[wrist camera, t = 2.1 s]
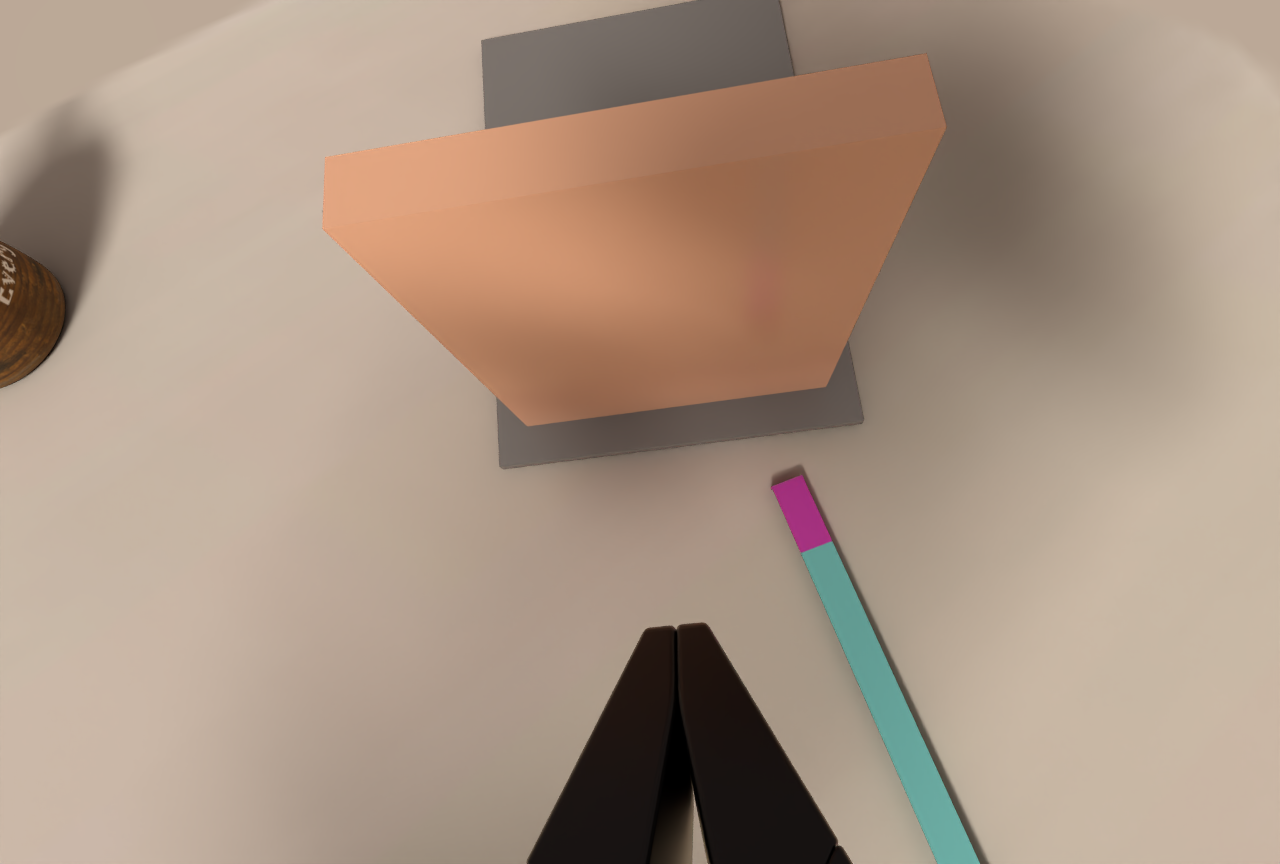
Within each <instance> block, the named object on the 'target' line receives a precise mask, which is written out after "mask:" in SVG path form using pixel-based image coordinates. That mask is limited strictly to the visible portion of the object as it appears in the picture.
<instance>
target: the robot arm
mask: <svg viewBox="0 0 1280 864" xmlns="http://www.w3.org/2000/svg"><path fill="white" fill-rule="evenodd" d="M693 790H694V795H693ZM694 796H695V801H696V806H697V812H698V817H699V822H700V827H701V832H702V837H703V842H704V847H705V852H706V857H707V863H708V864H853V863H852V862H851V860H850V858H849V857H848V855H847V853H846V852H845V850H844V849H843V847H842V846H838V839H837V838H836V836H835V834H834V833H833V831H832V829H831V828H830V826H829V824H828V823H827V821H826V819H825V818H824V816H823V814H822V813H821V811H820V809H819V808H818V806H817V804H816V803H815V801H814V799H813V798H812V796H811V795H810V793H809V791H808V790H807V788H806V786H805V785H804V783H803V781H802V780H801V778H800V776H799V775H798V773H797V771H796V770H795V768H794V766H793V765H792V763H791V761H790V760H789V758H788V756H787V755H786V753H785V751H784V750H783V748H782V746H781V745H780V743H779V741H778V740H777V738H776V737H775V735H774V733H773V732H772V730H771V728H770V727H769V725H768V723H767V722H766V720H765V718H764V717H763V715H762V713H761V712H760V710H759V708H758V707H757V705H756V703H755V702H754V700H753V698H752V697H751V695H750V693H749V692H748V690H747V688H746V687H745V685H744V684H743V682H742V680H741V679H740V677H739V675H738V674H737V672H736V670H735V669H734V667H733V665H732V664H731V662H730V660H729V659H728V657H727V655H726V654H725V652H724V650H723V649H722V647H721V645H720V644H719V642H718V640H717V639H716V637H715V635H714V634H713V632H712V631H711V629H710V627H709V626H708V625H707V624H706V623H692V624H682V625H679V626H678V627H677V630H676V629H675V628H674V627H673V626H662V627H652V628H647V629H646V630H645V631H644V632H643V634H642V635H641V637H640V639H639V641H638V643H637V645H636V647H635V649H634V651H633V653H632V655H631V657H630V659H629V661H628V663H627V665H626V667H625V669H624V671H623V673H622V675H621V677H620V679H619V681H618V683H617V684H616V686H615V688H614V690H613V692H612V694H611V696H610V698H609V700H608V702H607V704H606V706H605V708H604V710H603V712H602V714H601V716H600V718H599V720H598V722H597V724H596V726H595V728H594V730H593V732H592V734H591V736H590V738H589V740H588V741H587V743H586V745H585V747H584V749H583V751H582V753H581V755H580V757H579V759H578V761H577V763H576V765H575V767H574V769H573V771H572V773H571V775H570V777H569V779H568V781H567V783H566V785H565V787H564V789H563V791H562V793H561V795H560V796H559V798H558V800H557V802H556V804H555V806H554V808H553V810H552V812H551V814H550V816H549V818H548V820H547V822H546V824H545V826H544V828H543V830H542V832H541V834H540V836H539V838H538V840H537V842H536V844H535V846H534V848H533V850H532V851H531V853H530V855H529V857H528V859H527V864H692V848H693V816H694Z"/></svg>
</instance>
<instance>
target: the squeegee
mask: <svg viewBox="0 0 1280 864" xmlns="http://www.w3.org/2000/svg"><path fill="white" fill-rule="evenodd" d="M772 489H773V491H774V493H775V495H776V498H777V500H778V502H779V504H780V507H781V509H782V511H783V514H784V516H785V518H786V520H787V523H788V525H789V527H790V529H791V532H792V534H793V536H794V539H795V541H796V543H797V545H798V548H799V550H800V552H801V555H802V557H803V559H804V561H805V564H806V566H807V568H808V571H809V573H810V575H811V577H812V580H813V582H814V584H815V586H816V589H817V591H818V593H819V596H820V598H821V600H822V602H823V605H824V607H825V609H826V612H827V614H828V616H829V618H830V621H831V623H832V625H833V627H834V630H835V632H836V634H837V637H838V639H839V641H840V643H841V646H842V648H843V650H844V652H845V655H846V657H847V659H848V662H849V664H850V666H851V668H852V671H853V673H854V675H855V677H856V680H857V682H858V684H859V687H860V689H861V691H862V693H863V696H864V698H865V700H866V702H867V705H868V707H869V709H870V712H871V714H872V716H873V718H874V721H875V723H876V725H877V727H878V730H879V732H880V734H881V737H882V739H883V741H884V743H885V746H886V748H887V750H888V752H889V755H890V757H891V759H892V762H893V764H894V766H895V768H896V771H897V773H898V775H899V777H900V780H901V782H902V784H903V787H904V789H905V791H906V793H907V796H908V798H909V800H910V802H911V805H912V807H913V809H914V812H915V814H916V816H917V818H918V821H919V823H920V825H921V827H922V830H923V832H924V834H925V837H926V839H927V841H928V843H929V846H930V848H931V850H932V852H933V855H934V857H935V859H936V862H937V864H980V862H979V860H978V858H977V856H976V854H975V852H974V849H973V847H972V845H971V843H970V841H969V838H968V836H967V834H966V832H965V830H964V827H963V825H962V823H961V821H960V819H959V817H958V814H957V812H956V810H955V808H954V806H953V803H952V801H951V799H950V797H949V795H948V793H947V790H946V788H945V786H944V784H943V782H942V779H941V777H940V775H939V773H938V771H937V769H936V766H935V764H934V762H933V760H932V758H931V755H930V753H929V751H928V749H927V747H926V745H925V742H924V740H923V738H922V736H921V734H920V731H919V729H918V727H917V725H916V723H915V721H914V718H913V716H912V714H911V712H910V710H909V707H908V705H907V703H906V701H905V699H904V696H903V694H902V692H901V690H900V688H899V686H898V683H897V681H896V679H895V677H894V675H893V672H892V670H891V668H890V666H889V664H888V662H887V659H886V657H885V655H884V653H883V651H882V648H881V646H880V644H879V642H878V640H877V638H876V635H875V633H874V631H873V629H872V627H871V624H870V622H869V620H868V618H867V616H866V614H865V611H864V609H863V607H862V605H861V603H860V600H859V598H858V596H857V594H856V592H855V590H854V587H853V585H852V583H851V581H850V579H849V576H848V574H847V572H846V570H845V568H844V566H843V563H842V561H841V559H840V557H839V555H838V553H837V551H836V548H835V546H834V544H833V542H832V539H831V537H830V535H829V533H828V531H827V528H826V526H825V524H824V522H823V520H822V517H821V515H820V513H819V511H818V509H817V507H816V504H815V502H814V500H813V498H812V496H811V493H810V491H809V489H808V487H807V485H806V483H805V480H804V478H803V476H802V475H799V476H797V477H794V478H792V479H789V480H786V481H784V482H781V483H779V484H776V485H774V486H772V487H771V490H772Z"/></svg>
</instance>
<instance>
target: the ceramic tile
mask: <svg viewBox="0 0 1280 864" xmlns="http://www.w3.org/2000/svg"><path fill="white" fill-rule="evenodd" d="M946 128H947V126H946V122H945V119H944V115H943V111H942V108H941V104H940V100H939V97H938V93H937V90H936V86H935V82H934V79H933V75H932V71H931V68H930V64H929V60H928V57H927V53H925V54H919V55H914V56H908V57H902V58H896V59H891V60H885V61H879V62H873V63H867V64H862V65H856V66H850V67H844V68H838V69H833V70H827V71H821V72H815V73H810V74H804V75H798V76H792V77H786V78H781V79H775V80H769V81H763V82H757V83H752V84H746V85H740V86H734V87H729V88H723V89H717V90H711V91H705V92H700V93H694V94H688V95H682V96H676V97H671V98H665V99H659V100H653V101H648V102H642V103H636V104H630V105H624V106H619V107H613V108H607V109H601V110H595V111H590V112H584V113H578V114H572V115H567V116H561V117H555V118H549V119H543V120H538V121H532V122H526V123H520V124H514V125H509V126H503V127H497V128H491V129H486V130H480V131H474V132H468V133H462V134H457V135H451V136H445V137H439V138H433V139H428V140H422V141H416V142H410V143H405V144H399V145H393V146H387V147H381V148H376V149H370V150H364V151H358V152H352V153H347V154H341V155H335V156H329V157H325V175H324V201H323V228H322V229H323V230H324V231H325V232H326V233H327V234H328V235H329V236H330V237H332V238H333V239H334V240H335V241H336V242H337V243H338V244H339V245H340V246H341V247H342V248H343V249H344V250H345V251H346V252H347V253H348V254H349V255H350V256H351V257H352V258H353V259H354V260H355V261H356V262H357V263H358V264H359V265H361V266H362V267H363V268H364V269H365V270H366V271H367V272H368V273H369V274H370V275H371V276H372V277H373V278H374V279H375V280H376V281H377V282H378V283H379V284H380V285H381V286H382V287H383V288H384V289H385V290H386V291H387V292H388V293H390V294H391V295H392V296H393V297H394V298H395V299H396V300H397V301H398V302H399V303H400V304H401V305H402V306H403V307H404V308H405V309H406V310H407V311H408V312H409V313H410V314H411V315H412V316H413V317H414V318H415V319H416V320H417V321H419V322H420V323H421V324H422V325H423V326H424V327H425V328H426V329H427V330H428V331H429V332H430V333H431V334H432V335H433V336H434V337H435V338H436V339H437V340H438V341H439V342H440V343H441V344H442V345H443V346H444V347H445V348H446V349H448V350H449V351H450V352H451V353H452V354H453V355H454V356H455V357H456V358H457V359H458V360H459V361H460V362H461V363H462V364H463V365H464V366H465V367H466V368H467V369H468V370H469V371H470V372H471V373H472V374H473V375H474V376H475V377H477V378H478V379H479V380H480V381H481V382H482V383H483V384H484V385H485V386H486V387H487V388H488V389H489V390H490V391H491V392H492V393H493V394H494V395H495V396H496V397H497V398H498V399H499V400H500V401H501V402H502V403H503V404H505V405H506V406H507V407H508V408H509V409H510V410H511V411H512V412H513V413H514V414H515V415H516V416H517V417H518V418H519V419H520V420H521V421H522V422H523V423H524V424H525V425H526V426H534V425H542V424H550V423H557V422H565V421H572V420H580V419H587V418H595V417H603V416H610V415H618V414H625V413H633V412H640V411H648V410H656V409H663V408H671V407H678V406H686V405H693V404H701V403H709V402H716V401H724V400H731V399H739V398H746V397H754V396H762V395H769V394H777V393H784V392H792V391H799V390H807V389H814V388H822V387H826V386H827V384H828V382H829V380H830V377H831V375H832V373H833V371H834V369H835V367H836V364H837V362H838V360H839V358H840V356H841V354H842V352H843V349H844V347H845V345H846V343H847V341H848V339H849V336H850V334H851V332H852V330H853V328H854V326H855V324H856V321H857V319H858V317H859V315H860V313H861V311H862V308H863V306H864V304H865V302H866V300H867V298H868V296H869V293H870V291H871V289H872V287H873V285H874V283H875V280H876V278H877V276H878V274H879V272H880V270H881V268H882V265H883V263H884V261H885V259H886V257H887V255H888V252H889V250H890V248H891V246H892V244H893V242H894V240H895V237H896V235H897V233H898V231H899V229H900V227H901V224H902V222H903V220H904V218H905V216H906V214H907V212H908V209H909V207H910V205H911V203H912V201H913V199H914V196H915V194H916V192H917V190H918V188H919V186H920V184H921V181H922V179H923V177H924V175H925V173H926V171H927V168H928V166H929V164H930V162H931V160H932V158H933V156H934V153H935V151H936V149H937V147H938V145H939V143H940V140H941V138H942V136H943V134H944V132H945V130H946Z"/></svg>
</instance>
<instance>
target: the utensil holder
mask: <svg viewBox="0 0 1280 864" xmlns="http://www.w3.org/2000/svg"><path fill="white" fill-rule="evenodd" d="M64 316H65V299H64V295H63V291H62V288H61V286H60V284H59V282H58V281H57V279H56V278H55V277H54V275H53V274H52V273H51V272H50V271H49V270H48V269H46V268H45V267H44V266H43V265H41V264H40V263H38V262H37V261H35V260H34V259H32V258H31V257H29V256H27V255H25V254H24V253H22V252H20V251H18V250H16V249H15V248H13V247H11V246H9V245H7V244H5V243H3V242H1V241H0V388H3V387H5V386H8V385H10V384H12V383H14V382H16V381H18V380H20V379H21V378H23V377H24V376H26V375H27V374H29V373H30V372H31V371H32V370H34V369H35V368H36V367H37V366H38V365H39V364H40V363H41V362H42V361H43V360H44V359H45V357H46V356H47V355H48V353H49V352H50V351H51V349H52V348H53V346H54V344H55V343H56V341H57V339H58V337H59V334H60V332H61V329H62V326H63V322H64Z"/></svg>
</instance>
